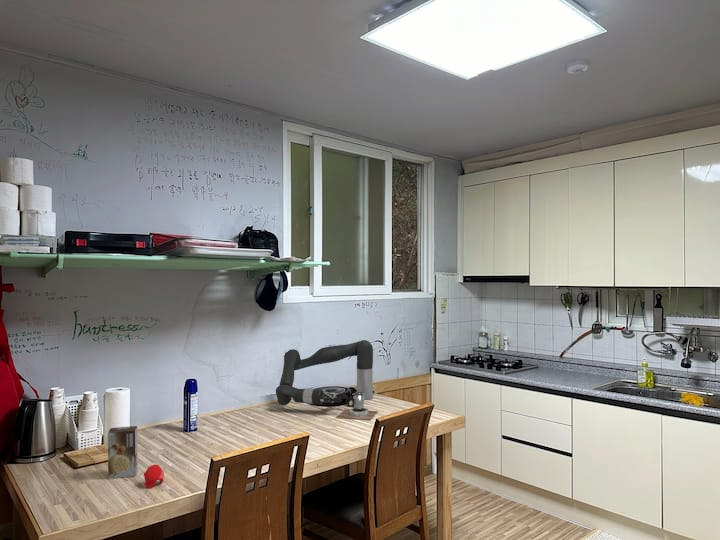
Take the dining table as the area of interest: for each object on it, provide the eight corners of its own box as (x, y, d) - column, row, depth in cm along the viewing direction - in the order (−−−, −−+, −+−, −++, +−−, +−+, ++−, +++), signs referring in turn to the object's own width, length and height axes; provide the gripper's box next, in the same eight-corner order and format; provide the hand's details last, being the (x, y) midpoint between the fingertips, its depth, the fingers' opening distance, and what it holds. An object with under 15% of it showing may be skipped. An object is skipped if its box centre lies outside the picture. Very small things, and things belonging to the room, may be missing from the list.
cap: (147, 469, 174) (139, 466, 169) (164, 463, 175) (156, 459, 170) (149, 493, 170) (141, 490, 165) (166, 487, 171) (158, 483, 166)
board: (344, 411, 265) (344, 409, 265) (378, 413, 260) (378, 411, 260) (334, 420, 247) (334, 418, 247) (370, 422, 243) (370, 420, 243)
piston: (355, 413, 256) (355, 391, 256) (364, 413, 255) (364, 391, 255) (353, 415, 252) (353, 393, 252) (362, 416, 251) (362, 393, 251)
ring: (352, 411, 259) (352, 406, 259) (370, 412, 257) (370, 408, 257) (347, 416, 250) (347, 411, 250) (366, 417, 248) (365, 412, 248)
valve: (357, 403, 281) (345, 408, 271) (357, 391, 281) (345, 395, 271) (367, 405, 277) (355, 409, 267) (367, 393, 278) (355, 397, 268)
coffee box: (138, 469, 183) (138, 425, 184) (135, 476, 177) (136, 430, 177) (110, 472, 181) (110, 427, 181) (107, 479, 174) (107, 432, 175)
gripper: (308, 392, 253) (339, 393, 249) (317, 386, 266) (347, 387, 262) (308, 407, 252) (339, 409, 248) (317, 400, 266) (347, 402, 262)
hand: (343, 398), depth 255 cm, fingers open, 8 cm apart
